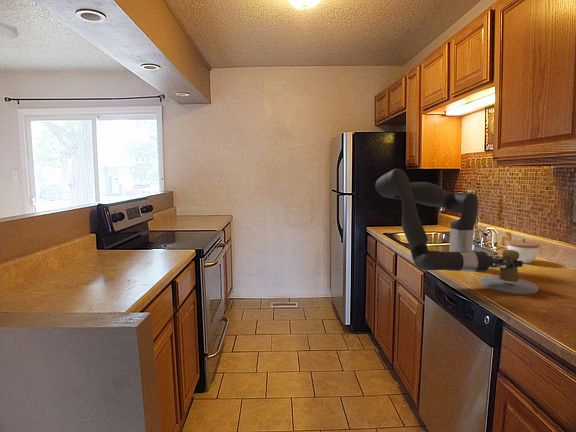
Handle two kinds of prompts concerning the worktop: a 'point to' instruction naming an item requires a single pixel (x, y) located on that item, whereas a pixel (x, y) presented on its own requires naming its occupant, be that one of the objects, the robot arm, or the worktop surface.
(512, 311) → the worktop surface
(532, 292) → the slate plate
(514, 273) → the cork
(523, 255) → the lidded bowl
